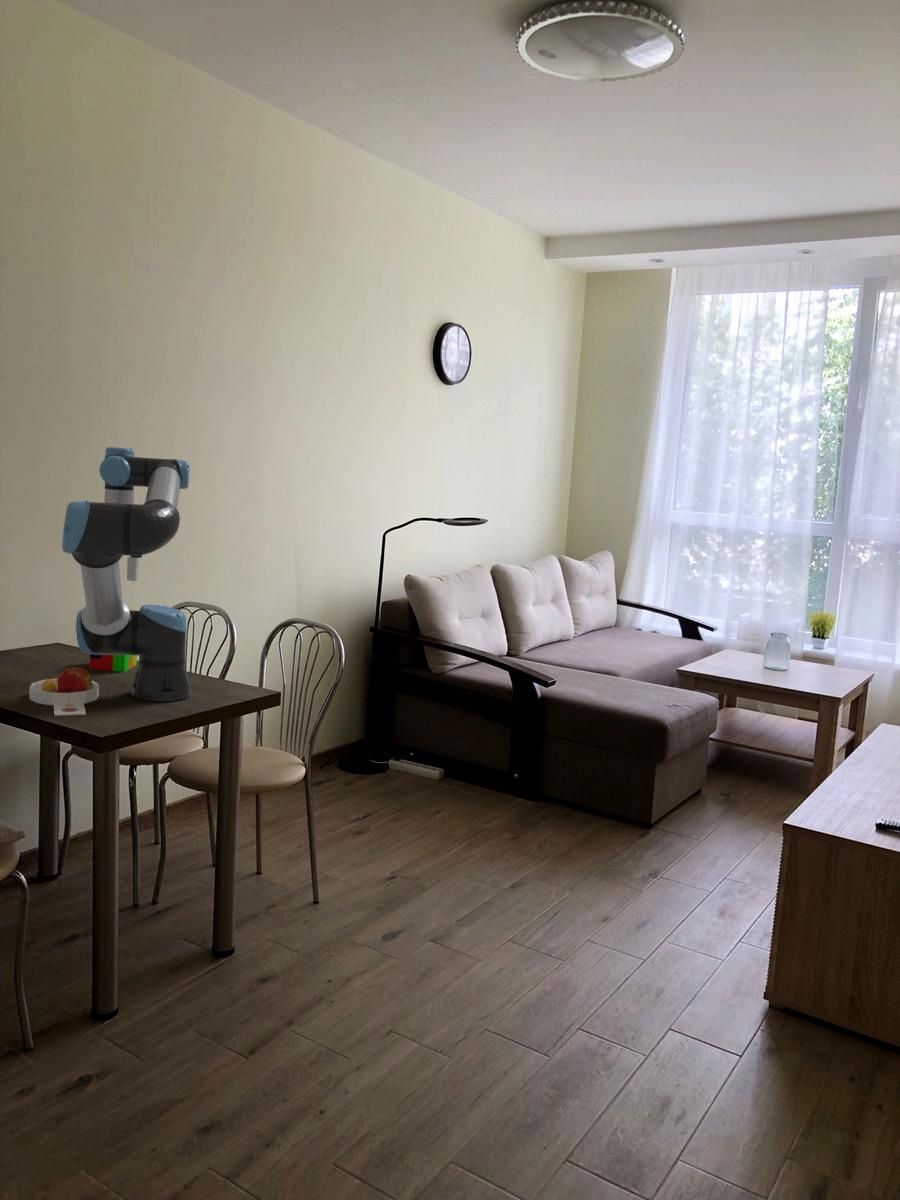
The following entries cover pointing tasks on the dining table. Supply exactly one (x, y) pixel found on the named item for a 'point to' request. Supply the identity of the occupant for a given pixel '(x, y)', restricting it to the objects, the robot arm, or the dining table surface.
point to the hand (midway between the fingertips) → (117, 583)
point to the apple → (74, 680)
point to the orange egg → (49, 686)
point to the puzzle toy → (113, 662)
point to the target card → (69, 709)
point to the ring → (62, 695)
